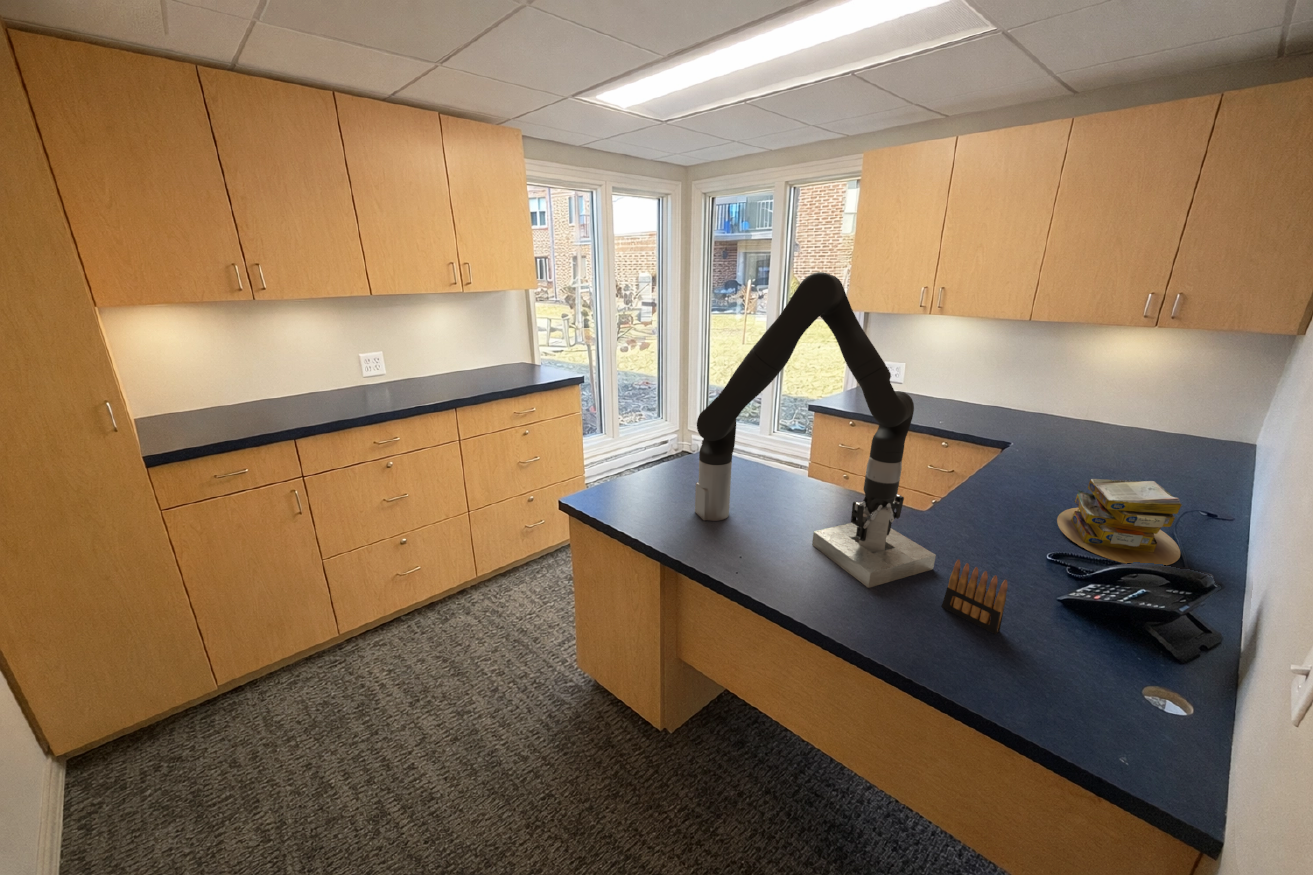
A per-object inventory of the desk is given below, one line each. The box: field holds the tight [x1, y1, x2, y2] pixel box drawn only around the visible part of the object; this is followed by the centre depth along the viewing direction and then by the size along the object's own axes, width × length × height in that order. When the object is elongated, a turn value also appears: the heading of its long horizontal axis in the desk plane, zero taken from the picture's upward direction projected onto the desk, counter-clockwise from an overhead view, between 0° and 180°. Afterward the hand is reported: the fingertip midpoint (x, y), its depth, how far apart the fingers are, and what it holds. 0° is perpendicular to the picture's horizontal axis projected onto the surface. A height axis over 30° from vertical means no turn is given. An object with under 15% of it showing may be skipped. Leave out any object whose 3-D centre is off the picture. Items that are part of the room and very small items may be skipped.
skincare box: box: [859, 507, 891, 554], centre depth 126 cm, size 6×4×12 cm
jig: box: [811, 522, 937, 589], centre depth 128 cm, size 20×20×4 cm
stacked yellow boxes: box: [1056, 478, 1183, 566], centre depth 133 cm, size 25×25×17 cm
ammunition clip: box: [941, 559, 1009, 635], centre depth 104 cm, size 11×2×12 cm, turn 36°
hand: (872, 536), depth 126 cm, fingers closed on skincare box, 7 cm apart
